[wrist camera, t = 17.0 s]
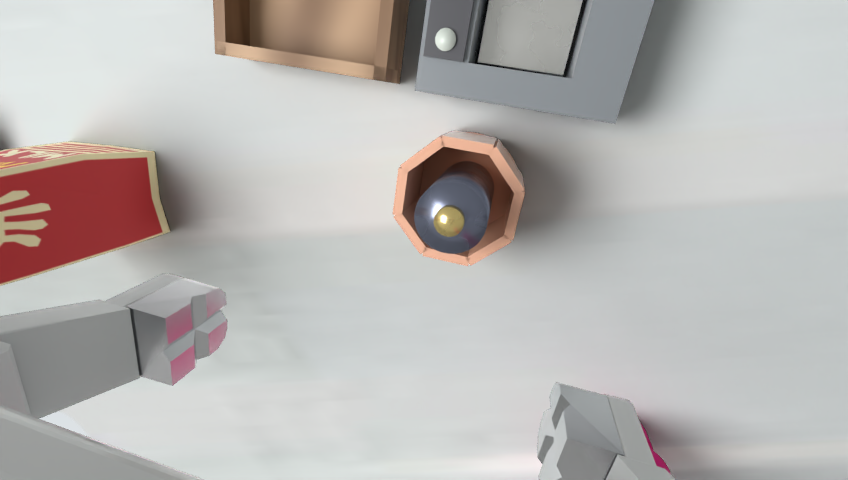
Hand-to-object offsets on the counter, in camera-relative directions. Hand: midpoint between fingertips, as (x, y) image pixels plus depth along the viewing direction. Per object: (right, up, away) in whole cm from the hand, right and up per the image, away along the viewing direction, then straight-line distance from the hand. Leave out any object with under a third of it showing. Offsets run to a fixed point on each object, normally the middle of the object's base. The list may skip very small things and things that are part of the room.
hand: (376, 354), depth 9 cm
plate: (+8, +16, +15) cm, 24 cm away
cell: (+4, +6, +19) cm, 21 cm away
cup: (+4, +7, +20) cm, 21 cm away
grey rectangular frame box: (+8, +16, +15) cm, 24 cm away
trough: (-6, +19, +18) cm, 26 cm away
